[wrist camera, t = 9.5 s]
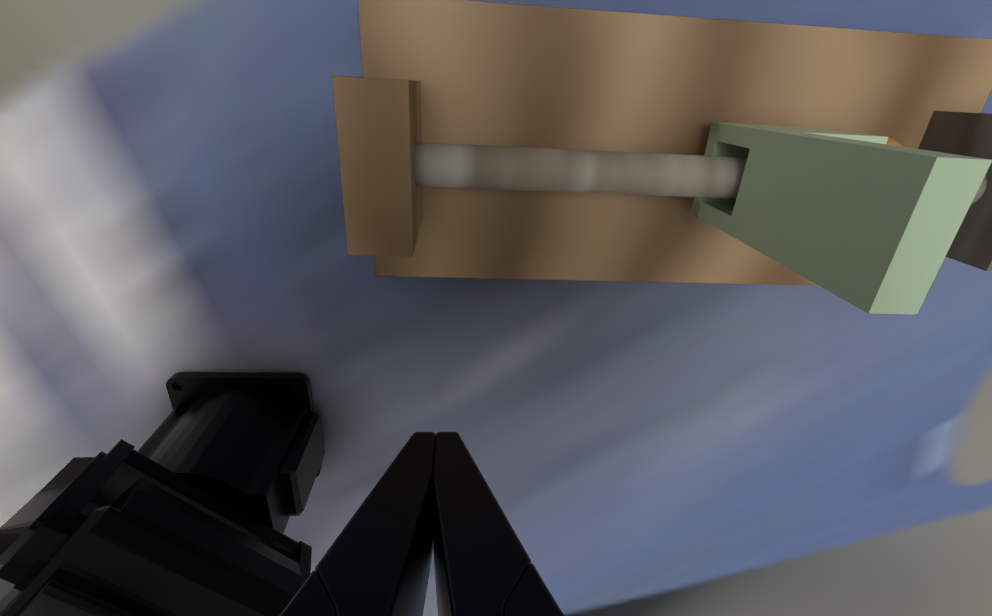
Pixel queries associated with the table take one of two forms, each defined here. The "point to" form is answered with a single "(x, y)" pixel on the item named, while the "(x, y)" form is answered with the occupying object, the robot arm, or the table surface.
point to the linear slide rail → (615, 134)
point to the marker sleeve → (845, 208)
